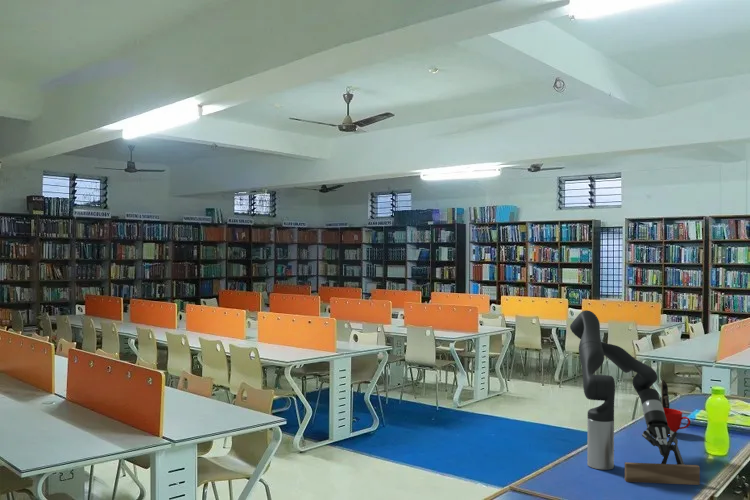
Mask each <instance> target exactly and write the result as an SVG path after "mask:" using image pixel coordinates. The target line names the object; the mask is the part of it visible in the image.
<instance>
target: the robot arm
mask: <svg viewBox="0 0 750 500" xmlns="http://www.w3.org/2000/svg"><path fill="white" fill-rule="evenodd" d="M600 326H601V324H600V320H599V318H598V317H597V314H595V313H594V312H593V311H592V310H591V311H590V310H588V309H587V310H586V309H585V310H582V311H581V312H580V313H579V314H578V315H577V316H576V317H575V318H574V320H573V321H572V322H571V324H570V326H569V328H570V330H571V333H573V335H575V336H576V337H577V338H578V339H579V340H580V341H579V344H578V354H579V355H578V356H579V360H580V365H581V370H582V386H583V394H584V396H585V398H586V399H588V400H590V401H603V403H602V404H600V405H599V406H597V407H592V408H590V409H588V410H587V441H586V443H587V452H586V453H587V457H586V458H587V459H586V461H587V463H586V465H587V467H590V468H592V469H596V470H604V471H605V470H607V471H608V470H612V469H614V468H615V464H614V463H615V396H616V381H615V378H614V376H612V375H608V374H595V372H596V371H598V370H599V369H600V368H601V367H602V365H603V364H604V361H605V357H606V358H607V359H609V361H611V362H612V363H613V364H614V365H615V366H617V368H619V370H621V371H622V372H623V373H625V374H628V373H630V372H635V373H636V374H635V375H634V376H633V378H632V387H633V388H634V390H635V391H636V393H637V395H638V396H639V398H640V402H641V407H642V413H643V414H642V415H643V417H644V421H645V425H646V430H643V432H642V434H641V437H642V438H644V440H646V441H647V442H649V443H650V445H652V446H653V447H657V448H658V451H659V453H660V454H659V455H661V457H663V458H664V456H665V453H666V451H667V442H668V434H670V436H669V438H670V437H672V439H671V441H670V443H671V445H672V444H673V443H674V442H673V440H674V438H677V436H678V431H677V432H673V431H671V430H670V428H669V426H668V423H667V420H666V416H665V413H664V409H663V406H662V400H661V398H660V395H659V392H658V390H656V389H655V388H652V386H653V385H654V384H655V383H656V382H657V380H658V374H657V372H656V370H655V369H653V368H652V367H651V366H649V365H647V364H646V363H643V362H642V361H640V360H638V359H635V358H634V357H633V356H632V355H631V354H630V353H629V352H628V351H627V350H625V349H624V348H623V347H621V346H618V345H616V344H611V343H607V342H604V341H602V339H601V327H600Z"/></svg>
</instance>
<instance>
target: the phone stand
mask: <svg viewBox="0 0 750 500" xmlns="http://www.w3.org/2000/svg"><path fill="white" fill-rule="evenodd" d="M671 439H672V437H670V436H669V438H668V439H667V451H666V453H665V456H664V457H663V458H662V461H661V463H660V464H668V459H669V456H670V453H671V451H672V452H673V455H674V458H675V461H676V464H681V465H685V462H684V460H683V458H682V454H681V451H680V449H679V445H678V443H679V441H678V438H677V437H676V438H674V440H673V443H674V444H673V443H672V444H671V443H670V441H671Z"/></svg>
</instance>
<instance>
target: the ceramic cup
mask: <svg viewBox="0 0 750 500" xmlns="http://www.w3.org/2000/svg"><path fill="white" fill-rule="evenodd" d="M663 409H664V413H665V416H666V420H667V423H668V426H669V428H670V430H671V431H673V432H677V433H678V431H679V430H683V429H686V428H689V427H690V425H691V419H690V418H689V417H688V416H683V411H681V410H679V409H674V408H670V407H669V408H663ZM684 419H685V420H687V424H686V425H684V426H682V421H683V420H684Z"/></svg>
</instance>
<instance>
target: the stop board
mask: <svg viewBox="0 0 750 500" xmlns="http://www.w3.org/2000/svg"><path fill="white" fill-rule="evenodd" d="M700 475H701V468H700V466H699V465H698V464H684V465H681V464H677V463H675V464H674V463H672V464H671V463H666V464H661V463H656V462H655V463H654V462H653V463H652V462H650V463H649V462H629V461H628V462H624V481H625V482H626V483H627V482H628V483H643V484H644V483H647V484H648V483H650V484H670V485H671V484H672V485H690V486H691V485H692V486H693V485H697V486H700V483H701V476H700Z"/></svg>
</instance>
